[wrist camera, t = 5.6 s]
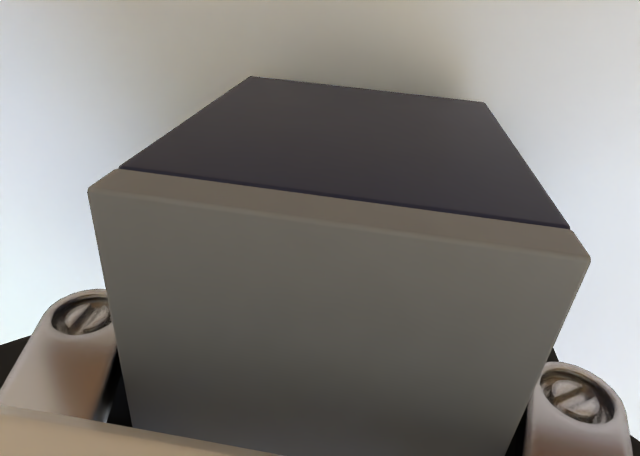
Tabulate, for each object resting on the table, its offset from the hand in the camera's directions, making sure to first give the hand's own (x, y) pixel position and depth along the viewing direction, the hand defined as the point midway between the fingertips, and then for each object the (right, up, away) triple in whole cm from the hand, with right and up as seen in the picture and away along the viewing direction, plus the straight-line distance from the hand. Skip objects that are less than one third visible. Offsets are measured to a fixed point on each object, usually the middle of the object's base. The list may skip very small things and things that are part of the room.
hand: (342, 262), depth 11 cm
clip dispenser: (0, 0, +1) cm, 1 cm away
